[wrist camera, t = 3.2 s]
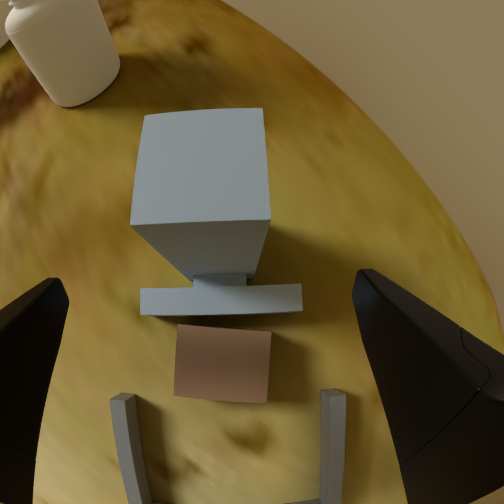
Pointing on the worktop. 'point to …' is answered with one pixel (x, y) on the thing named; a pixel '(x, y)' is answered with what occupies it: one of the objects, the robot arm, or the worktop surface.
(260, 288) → the grey upright block
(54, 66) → the pill bottle
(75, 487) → the worktop surface
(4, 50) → the worktop surface
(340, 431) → the grey u-shaped bar
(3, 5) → the canister
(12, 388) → the robot arm
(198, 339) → the block
